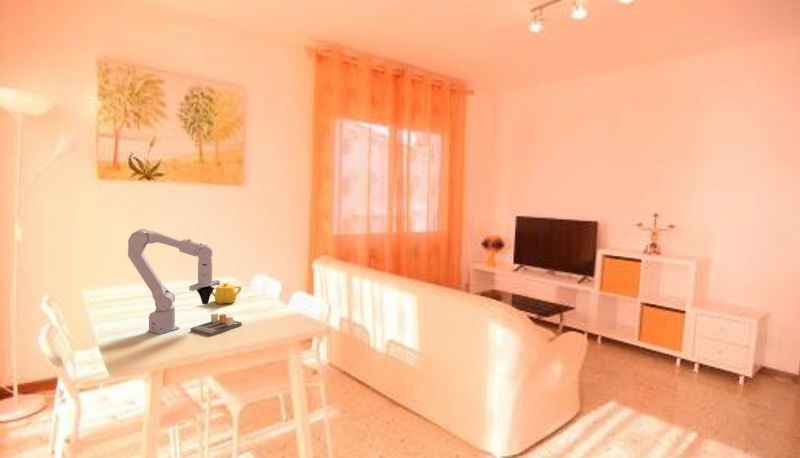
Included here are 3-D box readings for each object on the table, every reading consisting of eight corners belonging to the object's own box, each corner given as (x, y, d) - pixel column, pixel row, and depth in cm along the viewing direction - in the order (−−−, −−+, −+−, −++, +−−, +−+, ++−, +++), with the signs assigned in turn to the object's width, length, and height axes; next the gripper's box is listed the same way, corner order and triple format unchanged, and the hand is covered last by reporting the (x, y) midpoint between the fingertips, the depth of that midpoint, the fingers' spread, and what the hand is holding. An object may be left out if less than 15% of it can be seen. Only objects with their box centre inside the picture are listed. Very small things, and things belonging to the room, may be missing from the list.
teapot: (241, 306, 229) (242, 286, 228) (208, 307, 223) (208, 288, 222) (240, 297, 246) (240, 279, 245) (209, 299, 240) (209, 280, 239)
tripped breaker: (222, 323, 194) (222, 315, 194) (219, 322, 195) (219, 314, 195) (226, 322, 196) (226, 314, 196) (222, 321, 197) (222, 313, 197)
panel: (211, 336, 183) (211, 324, 182) (190, 331, 188) (190, 319, 187) (241, 325, 198) (241, 314, 198) (222, 321, 203) (222, 310, 203)
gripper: (197, 277, 183) (197, 309, 185) (224, 271, 196) (224, 301, 198) (185, 275, 186) (185, 306, 188) (213, 269, 199) (213, 299, 201)
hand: (205, 303), depth 193 cm, fingers closed
